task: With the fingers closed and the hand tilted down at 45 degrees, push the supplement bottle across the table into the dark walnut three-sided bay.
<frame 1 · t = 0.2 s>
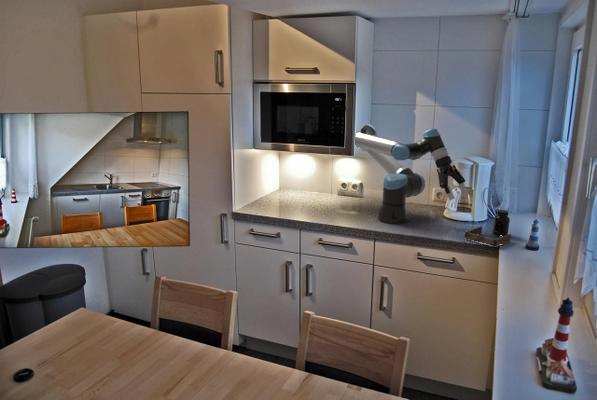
hand: (459, 197, 227), 16 cm above the table, tool tilted 35°, fingers open, 13 cm apart
walnut bay: (487, 240, 216), on the table
supplement bottle: (499, 235, 224), on the table
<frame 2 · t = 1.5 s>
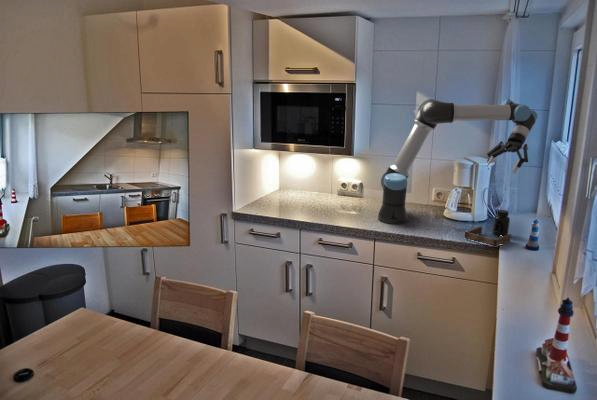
hand: (500, 170, 229), 29 cm above the table, tool tilted 45°, fingers open, 13 cm apart
nothing on the table moved.
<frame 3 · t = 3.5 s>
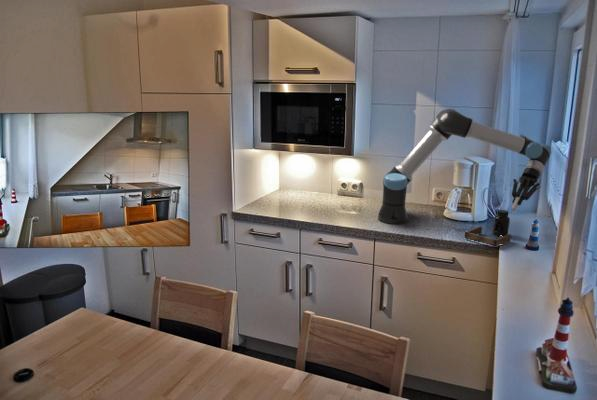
hand: (513, 209, 227), 11 cm above the table, tool tilted 45°, fingers closed
nothing on the table moved.
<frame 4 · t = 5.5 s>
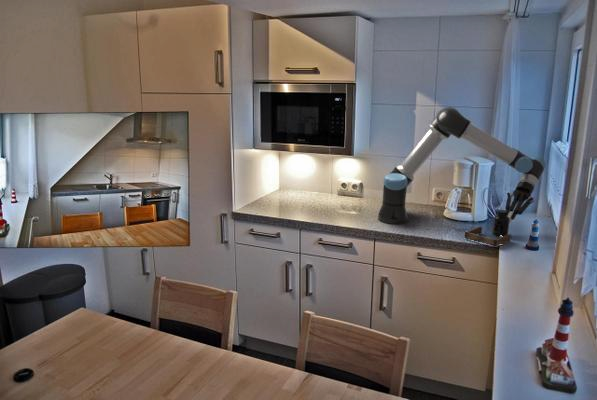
hand: (506, 223, 224), 5 cm above the table, tool tilted 45°, fingers closed
supplement bottle: (499, 235, 224), on the table, touching gripper
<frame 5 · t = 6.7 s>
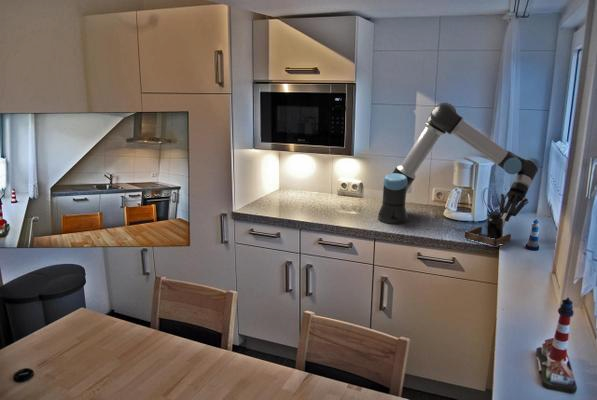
hand: (500, 225, 220), 5 cm above the table, tool tilted 45°, fingers closed
supplement bottle: (494, 237, 220), on the table, touching gripper
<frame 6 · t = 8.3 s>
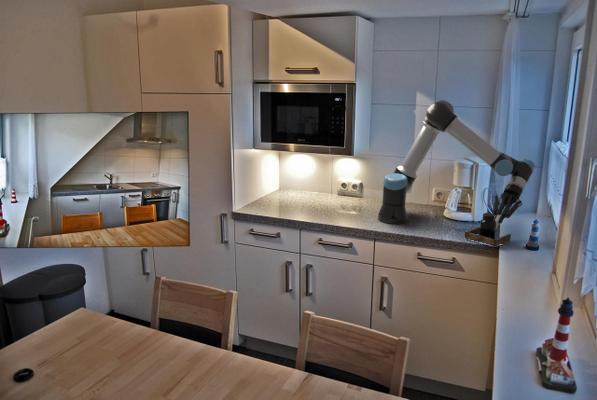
hand: (494, 227, 217), 5 cm above the table, tool tilted 45°, fingers closed
supplement bottle: (487, 238, 217), resting in walnut bay, touching gripper
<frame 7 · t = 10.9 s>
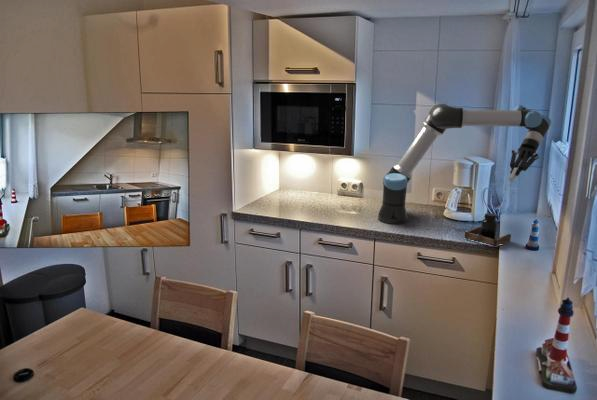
hand: (510, 179, 224), 26 cm above the table, tool tilted 45°, fingers closed
supplement bottle: (487, 239, 218), resting in walnut bay
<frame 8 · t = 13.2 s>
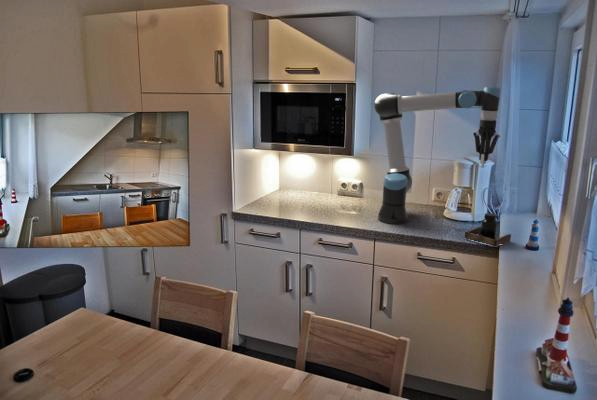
hand: (482, 167, 234), 29 cm above the table, tool pointing down, fingers closed
nothing on the table moved.
at the end: supplement bottle inside the target area on the walnut bay (1.2 cm from its centre), point 0.0 cm above the walnut bay's base; supplement bottle tilted 0° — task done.
